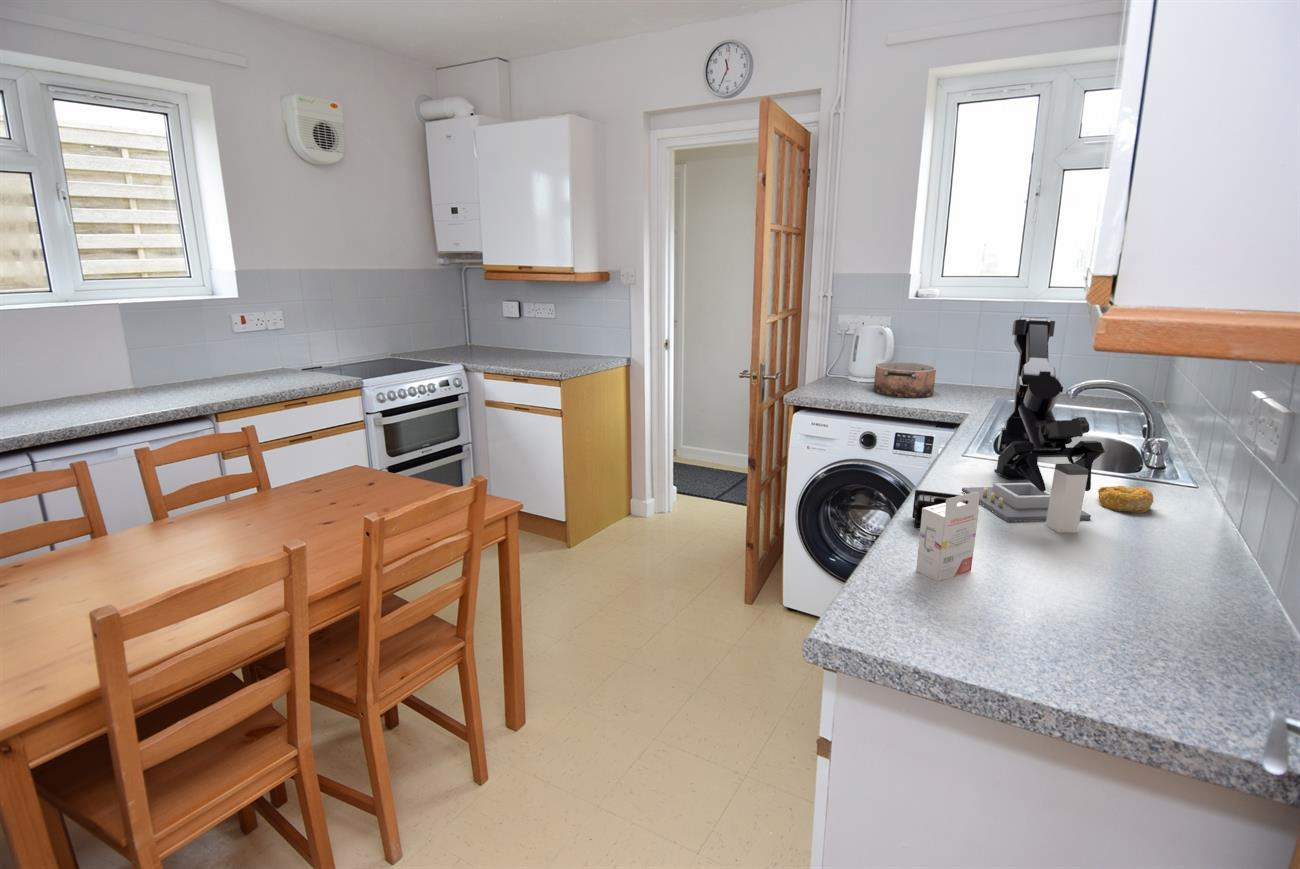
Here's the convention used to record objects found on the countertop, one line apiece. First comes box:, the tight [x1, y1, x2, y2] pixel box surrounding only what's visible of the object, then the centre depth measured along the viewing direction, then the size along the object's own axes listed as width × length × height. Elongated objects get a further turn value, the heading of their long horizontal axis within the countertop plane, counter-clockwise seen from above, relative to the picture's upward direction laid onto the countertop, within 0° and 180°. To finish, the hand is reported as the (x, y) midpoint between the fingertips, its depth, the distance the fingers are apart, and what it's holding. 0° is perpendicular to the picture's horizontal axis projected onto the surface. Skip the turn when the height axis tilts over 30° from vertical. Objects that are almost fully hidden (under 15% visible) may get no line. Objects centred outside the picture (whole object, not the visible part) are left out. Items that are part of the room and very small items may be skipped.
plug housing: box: [1044, 463, 1089, 534], centre depth 133 cm, size 4×4×13 cm
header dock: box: [961, 482, 1092, 522], centre depth 147 cm, size 18×18×4 cm
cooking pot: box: [873, 361, 937, 399], centre depth 266 cm, size 30×22×11 cm
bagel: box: [1097, 485, 1154, 514], centre depth 147 cm, size 10×11×5 cm
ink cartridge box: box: [915, 492, 980, 582], centre depth 114 cm, size 9×5×15 cm, turn 117°
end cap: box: [912, 489, 968, 529], centre depth 135 cm, size 10×7×7 cm
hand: (1066, 490), depth 133 cm, fingers open, 9 cm apart
